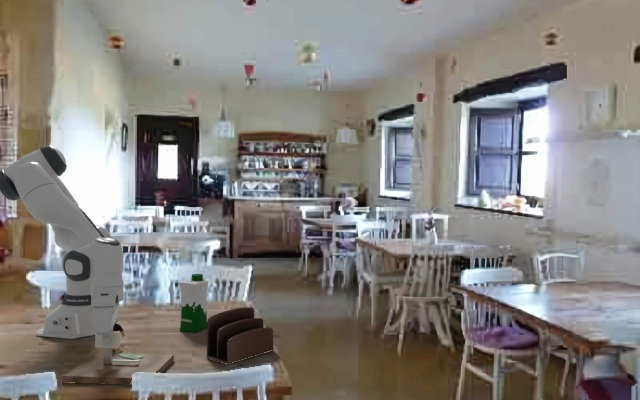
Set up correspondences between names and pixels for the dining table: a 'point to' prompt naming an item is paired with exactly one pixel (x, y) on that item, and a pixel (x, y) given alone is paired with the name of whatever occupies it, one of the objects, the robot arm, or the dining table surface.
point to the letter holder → (237, 335)
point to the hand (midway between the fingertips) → (107, 342)
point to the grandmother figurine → (119, 328)
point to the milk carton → (193, 304)
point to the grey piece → (110, 348)
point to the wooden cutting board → (117, 368)
